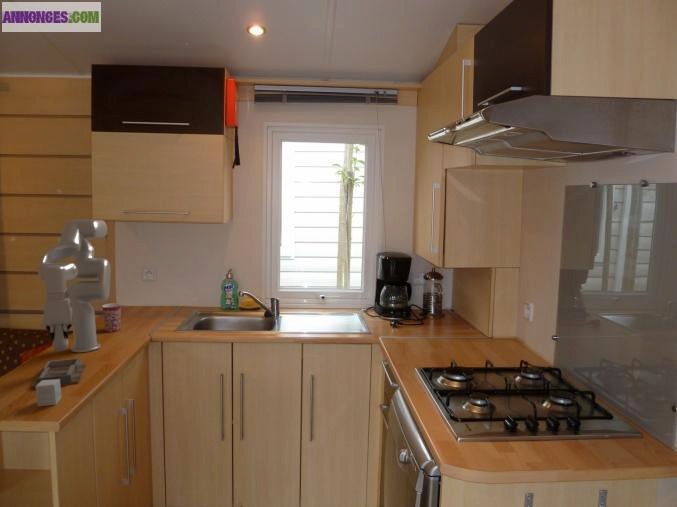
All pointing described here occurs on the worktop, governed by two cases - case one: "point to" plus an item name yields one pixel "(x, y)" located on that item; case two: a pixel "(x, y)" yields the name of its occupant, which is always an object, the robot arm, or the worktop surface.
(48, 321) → the robot arm
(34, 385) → the keyhole board
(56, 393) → the product box
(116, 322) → the mug
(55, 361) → the keyhole rails
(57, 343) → the salt shaker
